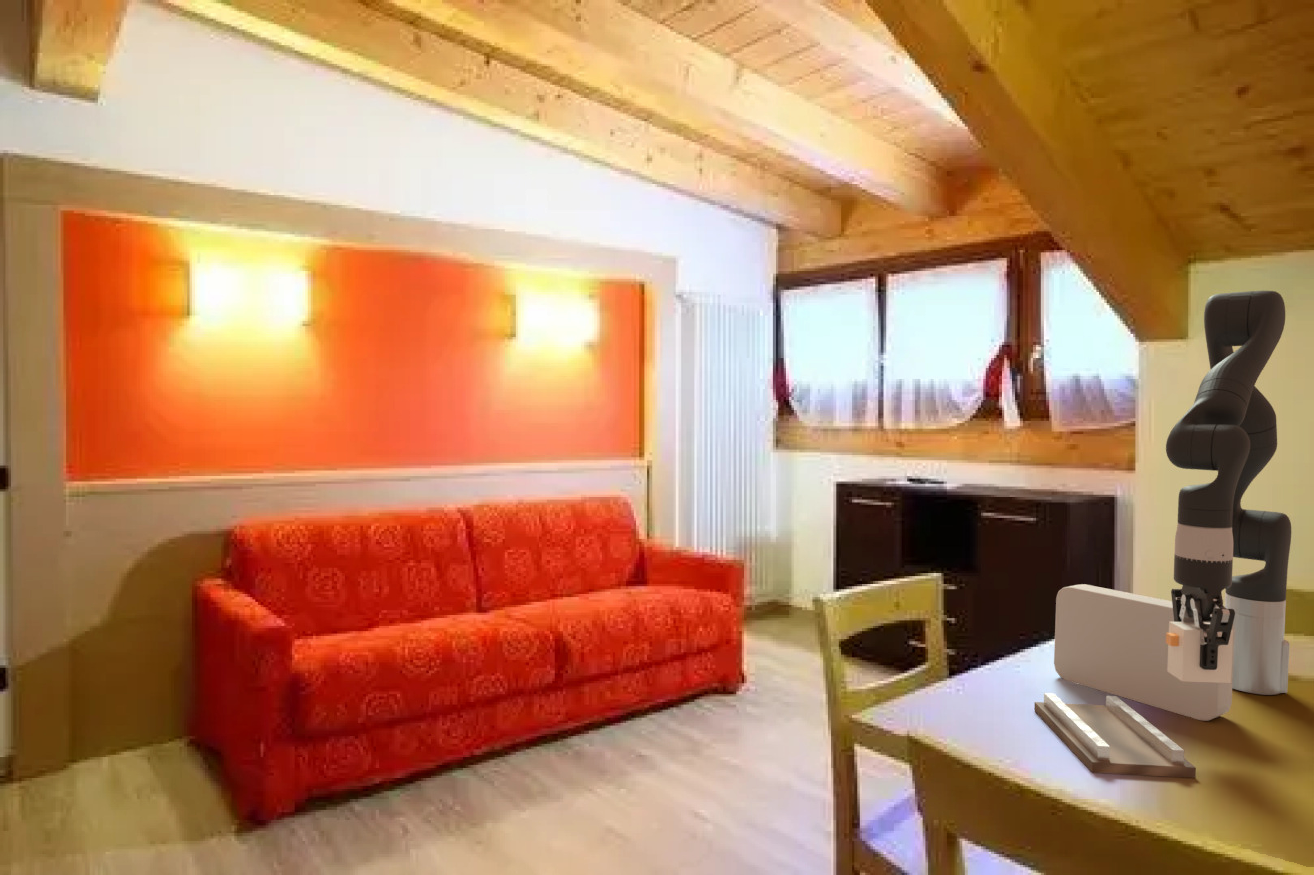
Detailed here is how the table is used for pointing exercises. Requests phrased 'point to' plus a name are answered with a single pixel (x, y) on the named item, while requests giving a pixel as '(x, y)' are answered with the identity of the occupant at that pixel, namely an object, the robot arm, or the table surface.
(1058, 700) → the mounting rail
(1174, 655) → the block
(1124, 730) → the mounting board
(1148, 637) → the rounded white slab
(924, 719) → the table surface
